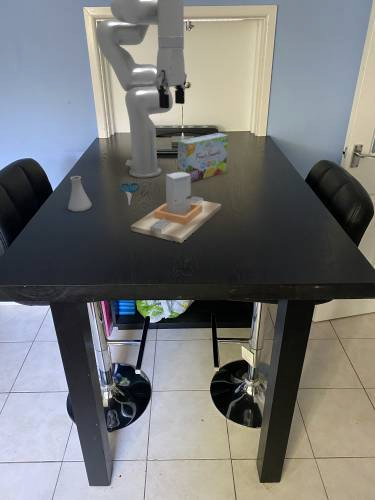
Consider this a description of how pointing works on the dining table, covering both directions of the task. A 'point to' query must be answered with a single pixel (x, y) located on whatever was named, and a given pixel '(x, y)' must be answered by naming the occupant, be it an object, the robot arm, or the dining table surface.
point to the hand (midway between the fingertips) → (172, 105)
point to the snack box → (203, 156)
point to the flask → (78, 196)
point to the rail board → (176, 221)
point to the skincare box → (178, 193)
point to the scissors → (130, 190)
